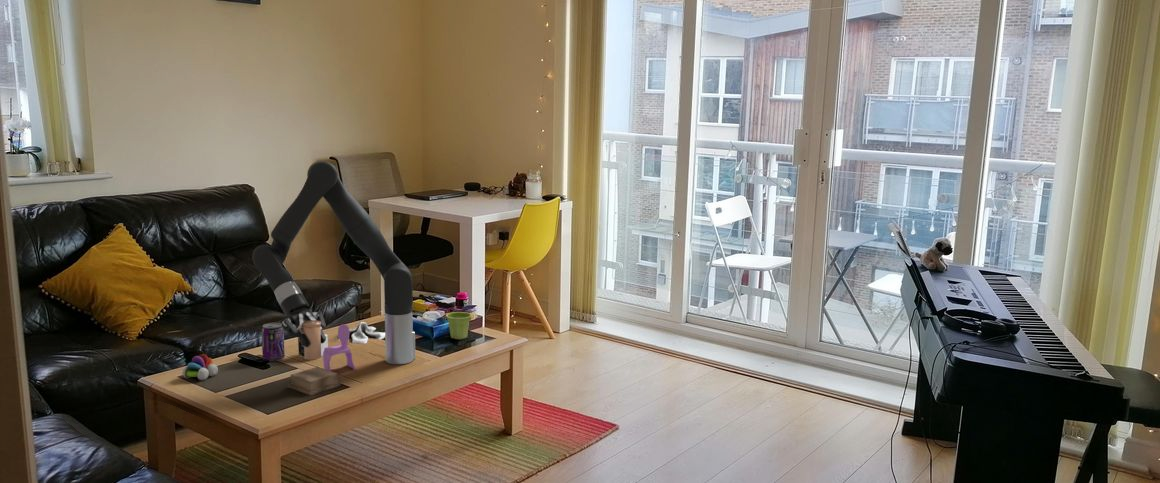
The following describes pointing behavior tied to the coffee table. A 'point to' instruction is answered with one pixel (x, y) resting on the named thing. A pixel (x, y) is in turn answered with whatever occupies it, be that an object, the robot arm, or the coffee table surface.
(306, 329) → the canister
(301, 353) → the medicine bottle
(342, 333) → the toy chair
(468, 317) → the plant pot
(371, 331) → the cloth
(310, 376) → the base slab
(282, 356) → the beverage can
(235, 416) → the coffee table surface
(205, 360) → the colorful domed toy
